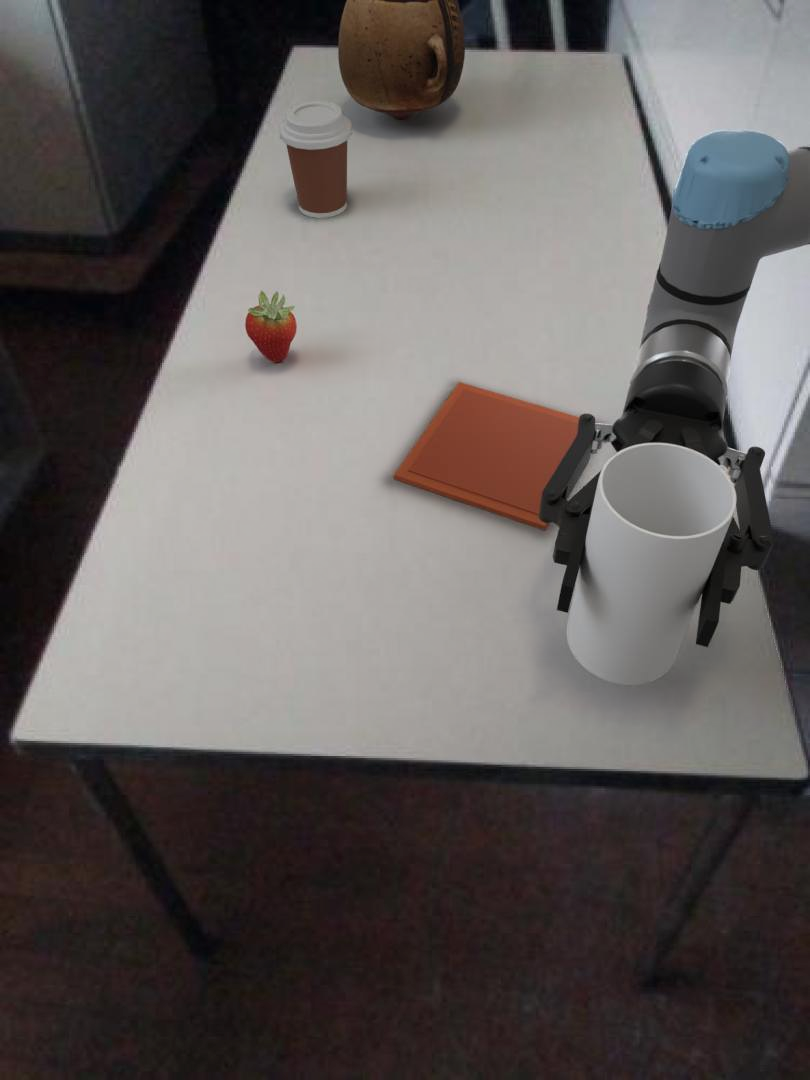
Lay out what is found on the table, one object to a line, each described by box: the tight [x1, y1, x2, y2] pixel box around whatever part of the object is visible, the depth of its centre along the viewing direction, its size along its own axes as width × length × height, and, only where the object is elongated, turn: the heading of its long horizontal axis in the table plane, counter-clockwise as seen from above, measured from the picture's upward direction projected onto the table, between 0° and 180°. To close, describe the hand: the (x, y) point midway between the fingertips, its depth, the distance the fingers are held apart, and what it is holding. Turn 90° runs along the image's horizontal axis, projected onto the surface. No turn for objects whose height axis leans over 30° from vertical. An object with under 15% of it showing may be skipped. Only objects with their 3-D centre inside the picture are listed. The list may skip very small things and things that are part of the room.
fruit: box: [244, 290, 297, 363], centre depth 89 cm, size 5×5×8 cm
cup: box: [566, 443, 736, 686], centre depth 58 cm, size 8×8×16 cm
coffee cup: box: [278, 100, 353, 219], centre depth 109 cm, size 9×9×12 cm
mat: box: [393, 381, 598, 531], centre depth 82 cm, size 15×15×1 cm
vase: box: [337, 0, 466, 122], centre depth 119 cm, size 21×18×30 cm
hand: (634, 615), depth 54 cm, fingers closed on cup, 8 cm apart
